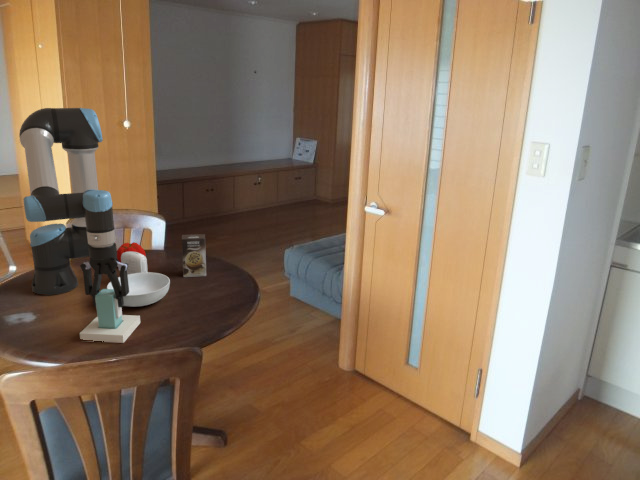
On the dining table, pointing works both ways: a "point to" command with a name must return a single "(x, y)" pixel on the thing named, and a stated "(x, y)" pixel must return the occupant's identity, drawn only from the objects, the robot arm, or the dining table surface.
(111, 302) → the teal square peg
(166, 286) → the serving bowl
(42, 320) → the dining table surface
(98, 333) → the white square frame
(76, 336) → the dining table surface
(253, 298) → the dining table surface
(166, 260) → the dining table surface
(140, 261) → the photo printer
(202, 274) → the coffee box
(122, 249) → the tomato
